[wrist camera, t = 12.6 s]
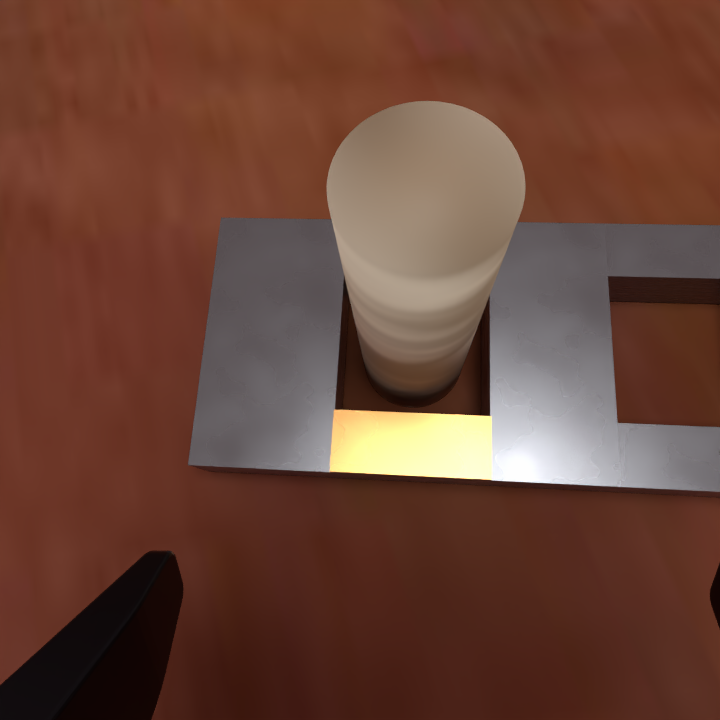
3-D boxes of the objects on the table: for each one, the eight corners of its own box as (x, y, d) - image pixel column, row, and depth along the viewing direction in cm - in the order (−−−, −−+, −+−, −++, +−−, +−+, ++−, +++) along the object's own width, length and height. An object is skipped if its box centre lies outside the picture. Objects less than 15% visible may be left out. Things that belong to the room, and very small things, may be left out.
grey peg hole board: (853, 257, 24) (909, 224, 22) (900, 506, 22) (971, 503, 19) (237, 245, 26) (218, 213, 24) (209, 471, 24) (184, 464, 21)
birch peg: (410, 427, 24) (421, 315, 11) (345, 357, 25) (287, 182, 12) (481, 362, 24) (567, 185, 12) (414, 296, 25) (428, 68, 13)
